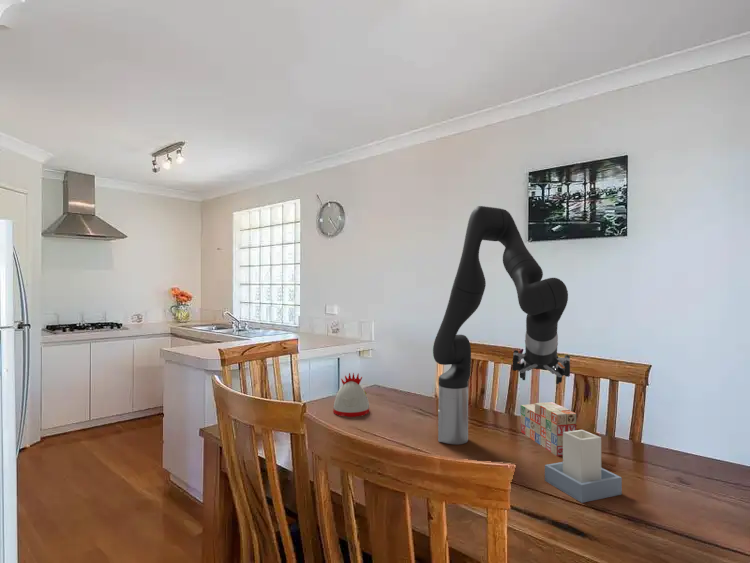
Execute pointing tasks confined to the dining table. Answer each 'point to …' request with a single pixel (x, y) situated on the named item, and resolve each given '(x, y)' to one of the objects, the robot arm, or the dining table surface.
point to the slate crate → (583, 484)
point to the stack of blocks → (547, 424)
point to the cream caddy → (582, 455)
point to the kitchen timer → (351, 399)
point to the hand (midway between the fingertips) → (540, 379)
